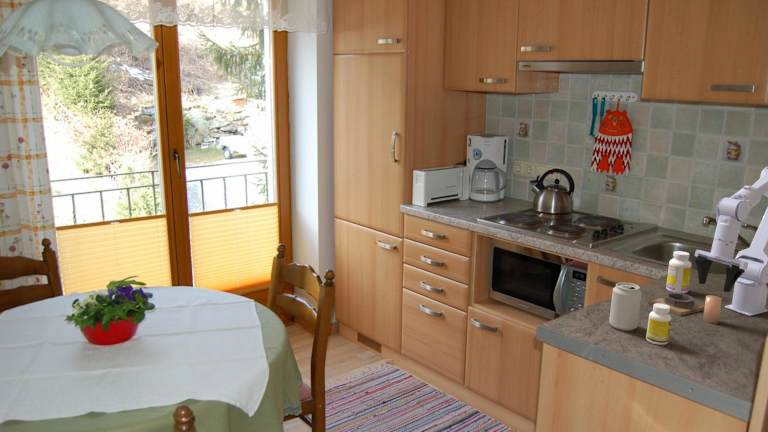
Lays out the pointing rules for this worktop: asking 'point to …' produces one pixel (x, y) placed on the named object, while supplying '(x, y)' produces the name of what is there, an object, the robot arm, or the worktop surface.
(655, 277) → the worktop surface
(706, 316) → the peach rounded peg
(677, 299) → the octagonal holder plate
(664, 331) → the supplement bottle
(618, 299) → the can
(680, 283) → the supplement bottle
